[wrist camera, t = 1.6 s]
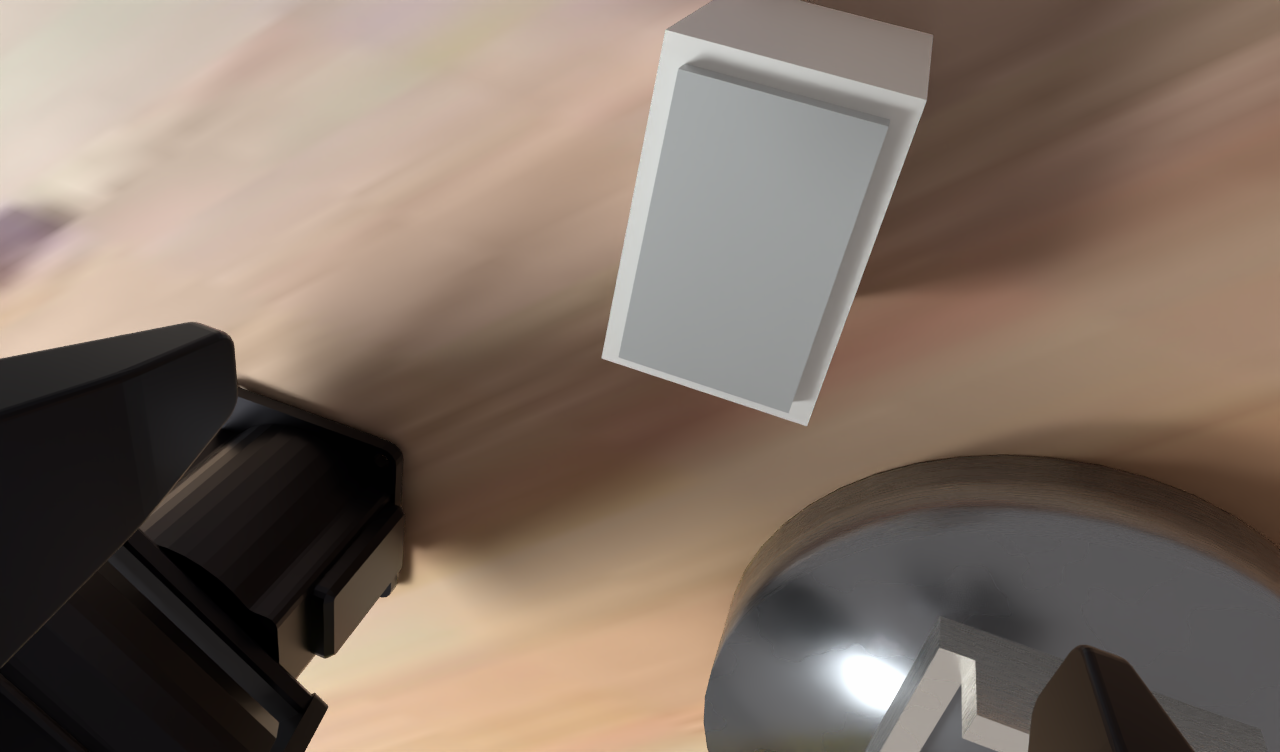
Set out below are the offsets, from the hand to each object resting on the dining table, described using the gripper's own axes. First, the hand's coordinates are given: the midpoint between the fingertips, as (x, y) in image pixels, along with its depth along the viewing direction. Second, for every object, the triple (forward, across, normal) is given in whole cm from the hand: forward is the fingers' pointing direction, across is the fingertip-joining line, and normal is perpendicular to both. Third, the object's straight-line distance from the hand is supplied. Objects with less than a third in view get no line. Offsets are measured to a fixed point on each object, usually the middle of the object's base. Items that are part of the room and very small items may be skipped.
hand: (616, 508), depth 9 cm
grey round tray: (+12, -10, +13) cm, 21 cm away
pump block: (+13, 0, 0) cm, 13 cm away
